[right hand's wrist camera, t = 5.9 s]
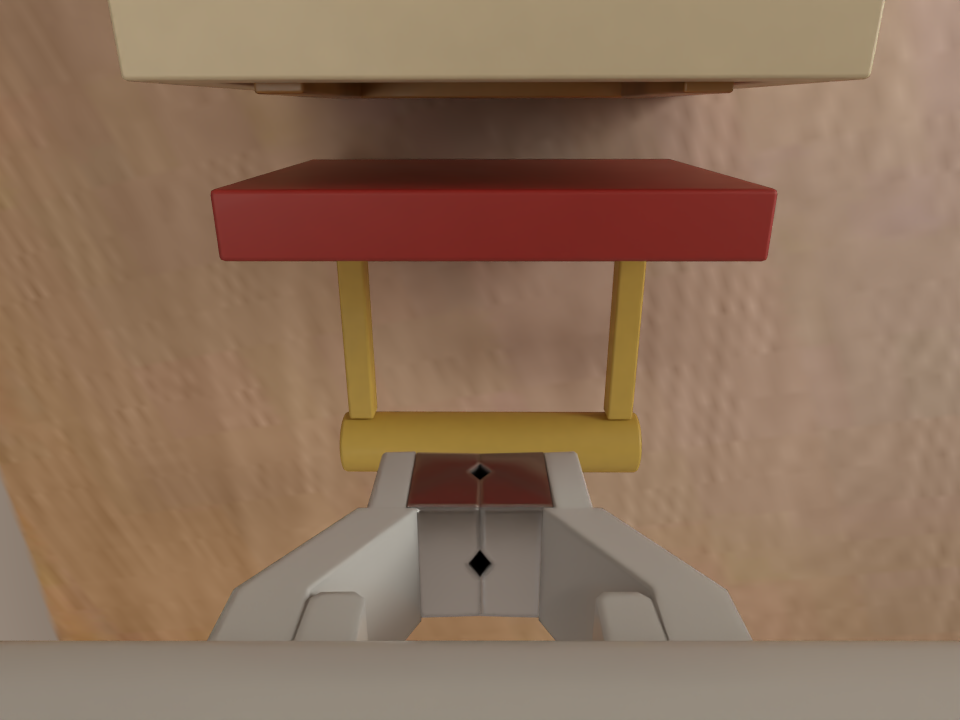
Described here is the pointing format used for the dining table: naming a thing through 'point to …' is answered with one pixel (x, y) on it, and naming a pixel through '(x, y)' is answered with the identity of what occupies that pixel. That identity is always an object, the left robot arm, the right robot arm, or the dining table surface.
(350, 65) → the cabinet
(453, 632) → the dining table surface
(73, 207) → the dining table surface
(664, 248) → the drawer
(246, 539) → the dining table surface
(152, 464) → the dining table surface
